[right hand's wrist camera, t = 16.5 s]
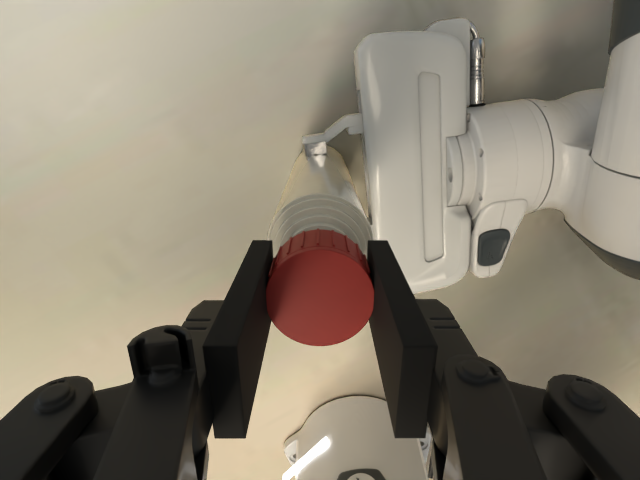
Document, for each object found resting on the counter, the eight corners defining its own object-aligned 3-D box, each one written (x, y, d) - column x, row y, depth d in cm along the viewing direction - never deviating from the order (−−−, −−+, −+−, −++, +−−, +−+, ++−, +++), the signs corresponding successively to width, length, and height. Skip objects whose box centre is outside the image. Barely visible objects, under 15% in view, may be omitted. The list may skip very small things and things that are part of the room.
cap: (384, 292, 15) (394, 322, 13) (299, 329, 15) (296, 362, 13) (343, 210, 14) (347, 228, 12) (252, 253, 14) (242, 278, 12)
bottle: (314, 206, 37) (306, 374, 14) (283, 165, 35) (219, 281, 13) (356, 176, 36) (417, 306, 13) (325, 133, 34) (336, 196, 12)
